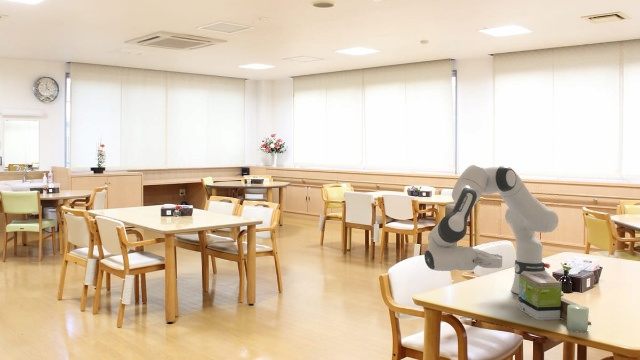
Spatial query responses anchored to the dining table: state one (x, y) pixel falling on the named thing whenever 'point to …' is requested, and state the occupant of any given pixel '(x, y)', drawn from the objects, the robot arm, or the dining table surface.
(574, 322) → the mint green canister
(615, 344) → the dining table surface
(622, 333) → the dining table surface
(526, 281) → the tea box
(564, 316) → the walnut rail
